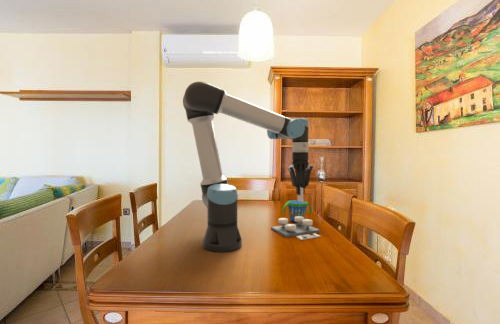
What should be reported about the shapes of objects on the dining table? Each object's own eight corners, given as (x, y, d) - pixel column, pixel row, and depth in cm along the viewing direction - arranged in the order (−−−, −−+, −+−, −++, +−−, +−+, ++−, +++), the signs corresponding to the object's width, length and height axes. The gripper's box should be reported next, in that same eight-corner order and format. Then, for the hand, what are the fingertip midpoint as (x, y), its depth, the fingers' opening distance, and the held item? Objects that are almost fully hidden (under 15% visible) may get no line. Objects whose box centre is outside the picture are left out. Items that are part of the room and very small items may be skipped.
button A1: (289, 234, 122) (289, 227, 122) (283, 232, 126) (283, 224, 126) (298, 233, 124) (298, 226, 123) (292, 230, 128) (292, 223, 128)
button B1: (306, 229, 125) (306, 222, 125) (300, 227, 130) (300, 219, 129) (314, 228, 127) (314, 221, 127) (308, 225, 132) (308, 218, 131)
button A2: (281, 228, 127) (281, 220, 127) (276, 225, 132) (276, 218, 131) (290, 227, 129) (290, 219, 129) (284, 224, 134) (284, 217, 133)
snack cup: (308, 218, 154) (308, 199, 153) (315, 223, 143) (315, 203, 143) (280, 218, 152) (280, 200, 151) (285, 224, 141) (285, 204, 141)
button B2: (298, 226, 131) (298, 218, 131) (292, 223, 135) (292, 216, 135) (306, 224, 133) (306, 217, 133) (300, 222, 137) (300, 215, 137)
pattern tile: (301, 240, 117) (301, 238, 117) (295, 237, 120) (295, 235, 120) (320, 237, 121) (320, 235, 121) (314, 234, 124) (314, 232, 124)
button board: (286, 237, 120) (286, 234, 120) (271, 229, 132) (271, 226, 132) (319, 232, 127) (319, 229, 127) (302, 225, 139) (302, 222, 139)
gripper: (292, 152, 126) (293, 204, 127) (316, 151, 131) (316, 201, 132) (284, 151, 133) (284, 201, 134) (307, 151, 138) (307, 198, 139)
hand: (300, 201), depth 133 cm, fingers closed
